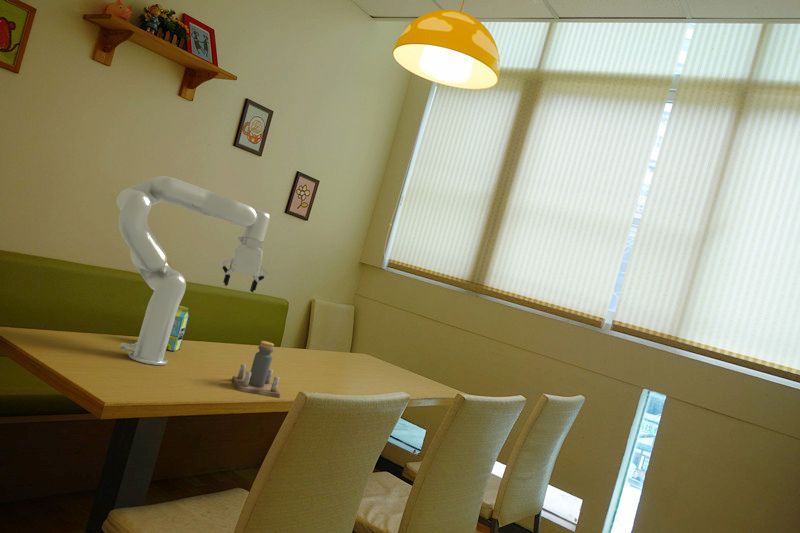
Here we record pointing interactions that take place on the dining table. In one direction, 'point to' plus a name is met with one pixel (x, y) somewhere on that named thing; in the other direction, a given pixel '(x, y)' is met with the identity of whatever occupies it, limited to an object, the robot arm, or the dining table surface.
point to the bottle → (261, 364)
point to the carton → (178, 329)
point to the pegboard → (243, 385)
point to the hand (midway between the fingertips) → (238, 288)
